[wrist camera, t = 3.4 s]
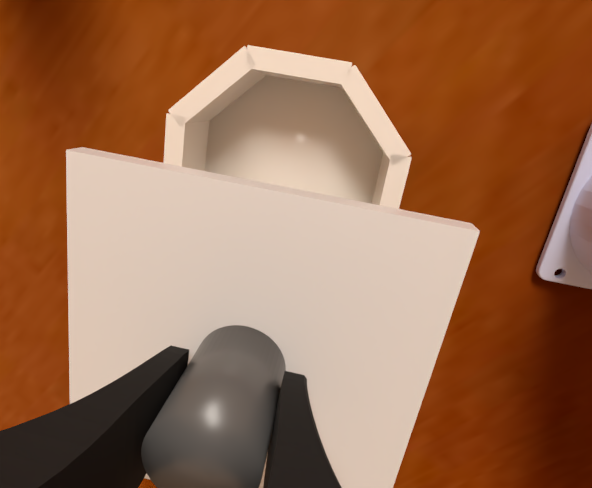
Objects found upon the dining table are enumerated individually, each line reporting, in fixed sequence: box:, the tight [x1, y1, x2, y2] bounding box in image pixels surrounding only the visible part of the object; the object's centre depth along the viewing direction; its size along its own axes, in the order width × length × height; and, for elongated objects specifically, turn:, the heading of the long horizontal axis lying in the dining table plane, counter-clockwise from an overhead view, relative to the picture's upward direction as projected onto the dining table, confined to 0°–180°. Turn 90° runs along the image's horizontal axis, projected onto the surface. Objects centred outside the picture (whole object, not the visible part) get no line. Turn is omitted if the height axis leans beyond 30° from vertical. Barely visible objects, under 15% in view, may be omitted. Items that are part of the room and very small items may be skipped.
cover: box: [66, 147, 480, 488], centre depth 12 cm, size 12×12×5 cm
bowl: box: [164, 45, 412, 209], centre depth 19 cm, size 10×10×4 cm
